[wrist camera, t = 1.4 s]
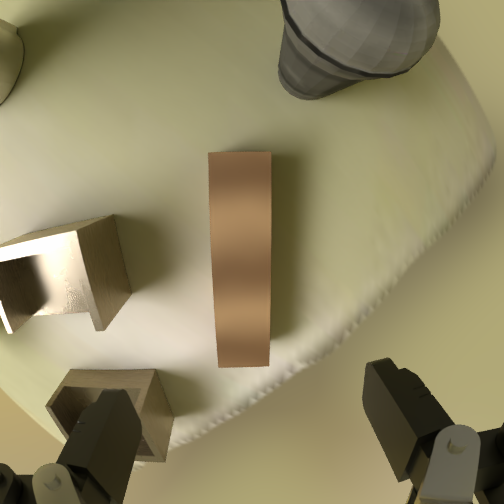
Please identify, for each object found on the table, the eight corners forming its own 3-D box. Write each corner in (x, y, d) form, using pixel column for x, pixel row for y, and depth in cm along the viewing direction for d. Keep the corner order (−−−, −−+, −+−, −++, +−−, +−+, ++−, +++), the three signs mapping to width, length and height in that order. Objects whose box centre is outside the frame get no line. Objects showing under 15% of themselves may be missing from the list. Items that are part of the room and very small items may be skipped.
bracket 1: (24, 234, 23) (-19, 252, 17) (113, 214, 23) (76, 230, 17) (43, 303, 25) (7, 333, 18) (131, 294, 25) (104, 330, 19)
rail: (213, 155, 23) (208, 152, 19) (265, 154, 23) (271, 151, 19) (220, 341, 27) (218, 367, 23) (264, 340, 27) (269, 366, 23)
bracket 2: (174, 417, 29) (165, 462, 23) (94, 415, 29) (76, 453, 22) (155, 368, 27) (139, 414, 21) (70, 369, 27) (44, 406, 21)
